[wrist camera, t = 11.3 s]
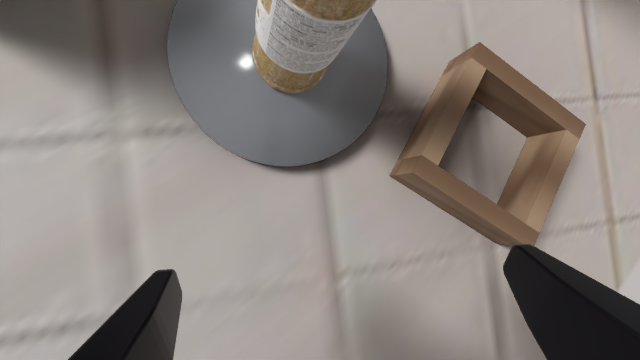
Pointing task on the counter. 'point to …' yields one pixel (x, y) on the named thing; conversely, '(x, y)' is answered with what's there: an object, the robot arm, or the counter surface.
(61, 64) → the counter surface
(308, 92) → the slate plate
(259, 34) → the sprinkles bottle
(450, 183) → the walnut socket
